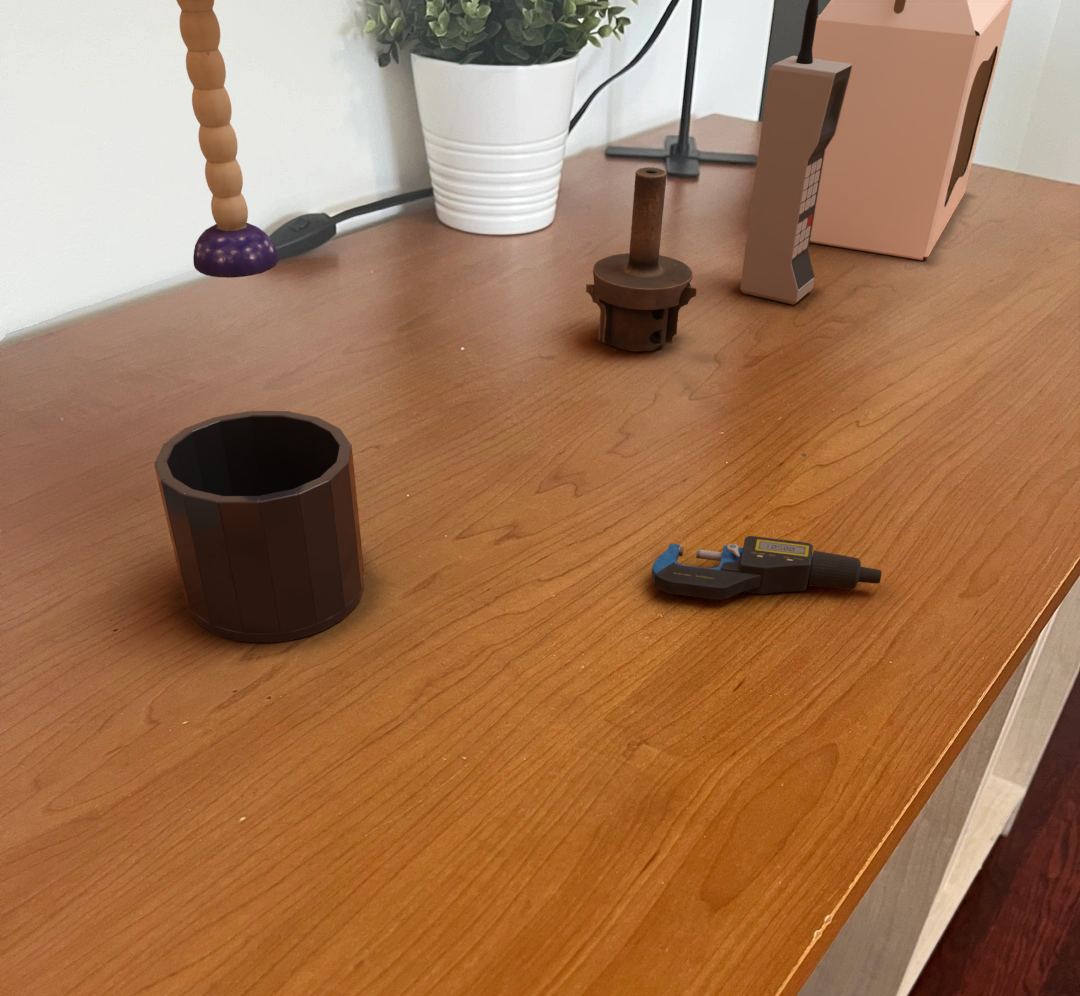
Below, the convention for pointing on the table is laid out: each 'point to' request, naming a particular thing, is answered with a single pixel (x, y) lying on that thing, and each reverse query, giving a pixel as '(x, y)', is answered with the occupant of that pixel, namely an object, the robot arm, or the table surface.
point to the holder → (263, 524)
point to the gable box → (903, 117)
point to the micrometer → (759, 570)
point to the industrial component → (641, 277)
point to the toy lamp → (219, 155)
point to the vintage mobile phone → (791, 169)
